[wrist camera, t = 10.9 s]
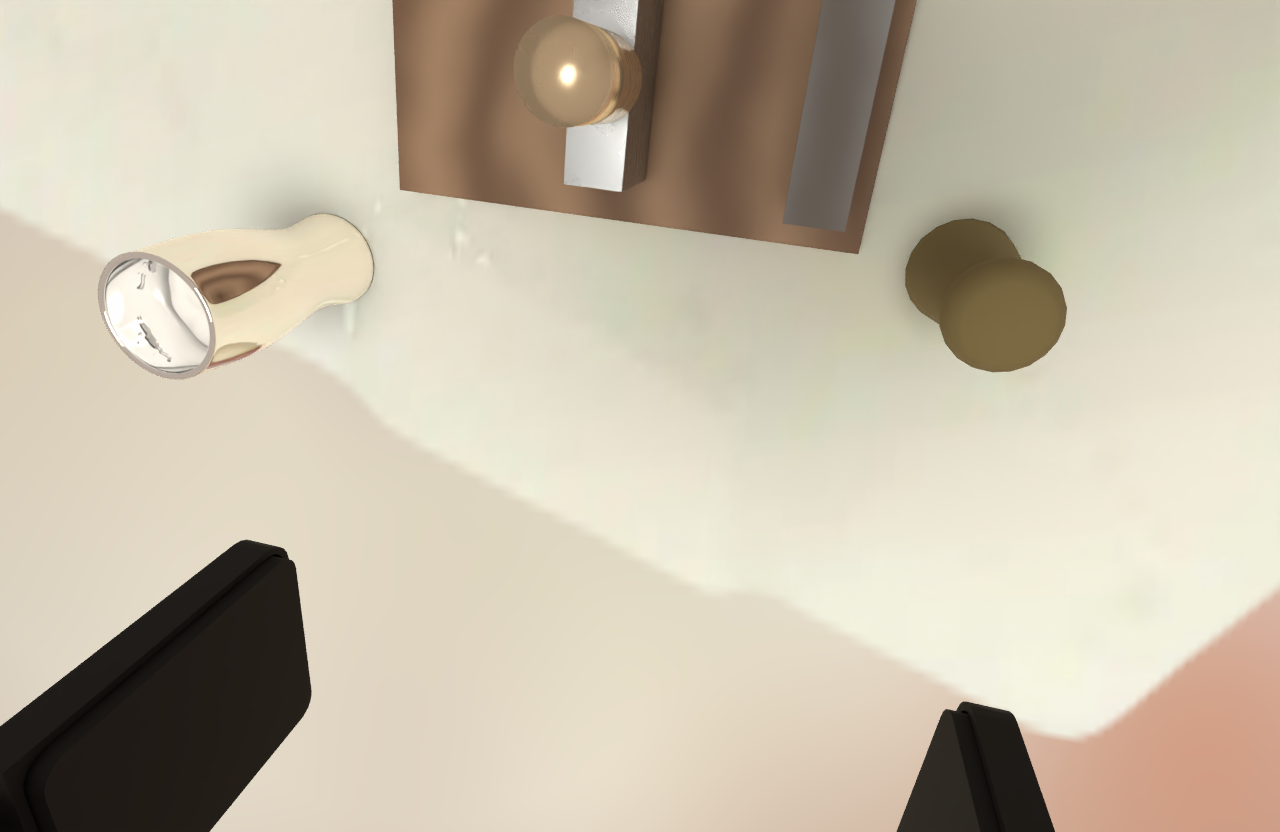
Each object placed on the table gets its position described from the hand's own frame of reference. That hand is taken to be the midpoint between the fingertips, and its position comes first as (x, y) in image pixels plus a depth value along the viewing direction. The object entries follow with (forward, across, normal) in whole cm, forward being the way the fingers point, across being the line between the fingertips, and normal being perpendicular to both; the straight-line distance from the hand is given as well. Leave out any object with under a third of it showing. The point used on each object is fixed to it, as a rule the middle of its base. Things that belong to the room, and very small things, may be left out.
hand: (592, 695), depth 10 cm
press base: (+36, +8, -8) cm, 38 cm away
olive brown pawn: (+36, -12, 0) cm, 38 cm away
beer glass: (+36, +28, +5) cm, 46 cm away
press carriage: (+34, +8, -8) cm, 36 cm away
